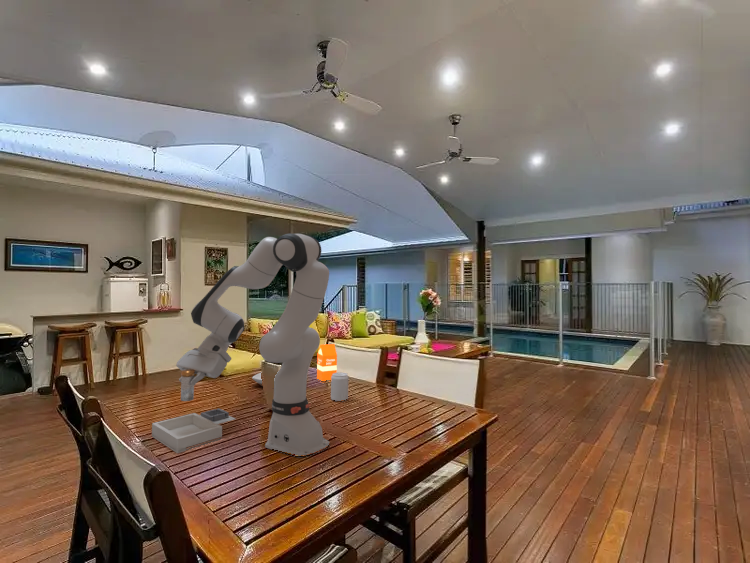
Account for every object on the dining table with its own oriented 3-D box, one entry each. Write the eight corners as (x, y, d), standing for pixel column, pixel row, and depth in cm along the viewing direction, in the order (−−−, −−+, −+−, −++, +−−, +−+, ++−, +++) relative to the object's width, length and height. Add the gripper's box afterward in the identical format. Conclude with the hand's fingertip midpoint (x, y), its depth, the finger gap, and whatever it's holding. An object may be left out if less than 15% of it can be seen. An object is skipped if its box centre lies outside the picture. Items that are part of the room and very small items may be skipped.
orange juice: (336, 380, 218) (337, 344, 218) (321, 382, 214) (322, 345, 214) (330, 377, 225) (331, 342, 225) (316, 379, 221) (317, 343, 221)
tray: (221, 439, 135) (222, 426, 135) (177, 453, 124) (177, 439, 124) (194, 424, 148) (194, 412, 148) (151, 436, 136) (152, 423, 136)
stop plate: (235, 421, 152) (236, 413, 152) (211, 428, 145) (211, 420, 145) (217, 413, 161) (217, 405, 161) (193, 419, 154) (193, 411, 154)
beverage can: (339, 403, 178) (340, 377, 178) (327, 399, 183) (327, 374, 183) (351, 399, 184) (352, 374, 184) (338, 396, 189) (339, 371, 189)
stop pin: (196, 399, 136) (196, 370, 136) (183, 402, 133) (184, 372, 133) (190, 396, 139) (191, 368, 139) (178, 399, 136) (179, 370, 136)
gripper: (188, 342, 147) (162, 373, 138) (225, 348, 137) (199, 382, 128) (198, 352, 151) (173, 383, 142) (234, 359, 141) (210, 393, 132)
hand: (186, 383), depth 135 cm, fingers closed on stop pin, 4 cm apart
